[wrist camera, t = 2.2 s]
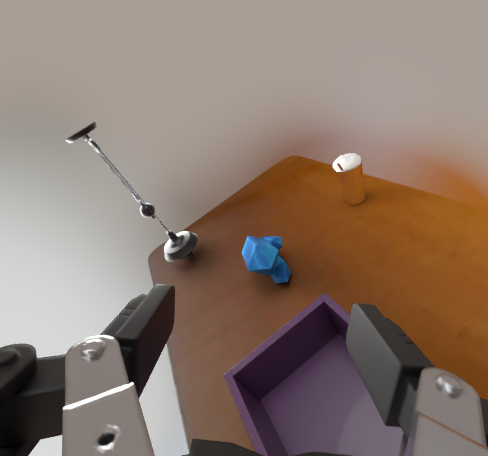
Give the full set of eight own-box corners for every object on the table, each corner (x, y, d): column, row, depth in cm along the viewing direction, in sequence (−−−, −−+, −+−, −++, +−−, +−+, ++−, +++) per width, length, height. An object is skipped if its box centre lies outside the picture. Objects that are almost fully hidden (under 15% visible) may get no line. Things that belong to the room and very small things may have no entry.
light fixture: (165, 262, 62) (56, 145, 45) (191, 237, 65) (98, 119, 48) (184, 276, 55) (61, 143, 37) (212, 248, 58) (110, 112, 40)
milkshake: (338, 209, 49) (324, 164, 43) (347, 191, 51) (335, 146, 46) (363, 211, 46) (352, 162, 40) (372, 191, 48) (362, 143, 43)
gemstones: (263, 214, 46) (290, 234, 35) (285, 251, 49) (316, 281, 38) (228, 237, 46) (244, 265, 35) (252, 273, 49) (274, 309, 38)
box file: (254, 400, 31) (223, 374, 27) (340, 327, 33) (324, 292, 28) (355, 609, 18) (327, 624, 14) (488, 471, 20) (499, 446, 16)
